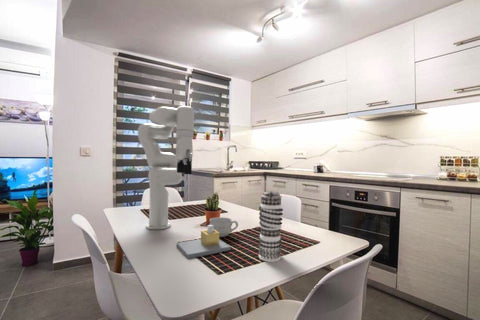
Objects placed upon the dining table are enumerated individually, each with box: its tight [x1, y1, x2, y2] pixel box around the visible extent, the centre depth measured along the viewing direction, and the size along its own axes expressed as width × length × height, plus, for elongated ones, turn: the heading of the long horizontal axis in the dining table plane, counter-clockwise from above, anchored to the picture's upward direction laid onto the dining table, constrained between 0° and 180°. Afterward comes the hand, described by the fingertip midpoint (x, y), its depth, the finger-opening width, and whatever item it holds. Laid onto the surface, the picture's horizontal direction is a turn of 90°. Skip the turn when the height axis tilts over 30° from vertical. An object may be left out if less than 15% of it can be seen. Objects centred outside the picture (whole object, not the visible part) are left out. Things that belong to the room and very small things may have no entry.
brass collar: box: [200, 229, 220, 247], centre depth 102 cm, size 6×6×5 cm
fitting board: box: [176, 224, 231, 259], centre depth 100 cm, size 14×18×9 cm
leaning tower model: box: [258, 190, 284, 263], centre depth 93 cm, size 9×9×25 cm
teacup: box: [209, 216, 239, 238], centre depth 117 cm, size 14×11×8 cm
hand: (183, 173), depth 108 cm, fingers open, 9 cm apart
